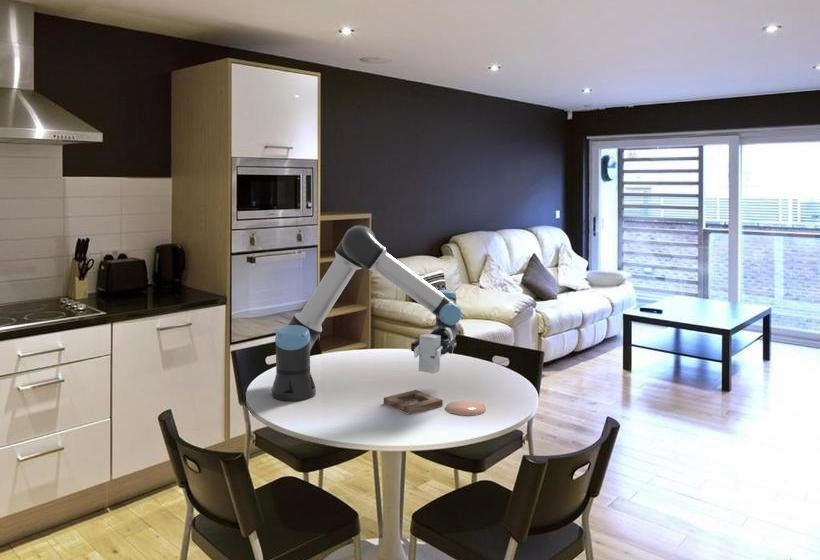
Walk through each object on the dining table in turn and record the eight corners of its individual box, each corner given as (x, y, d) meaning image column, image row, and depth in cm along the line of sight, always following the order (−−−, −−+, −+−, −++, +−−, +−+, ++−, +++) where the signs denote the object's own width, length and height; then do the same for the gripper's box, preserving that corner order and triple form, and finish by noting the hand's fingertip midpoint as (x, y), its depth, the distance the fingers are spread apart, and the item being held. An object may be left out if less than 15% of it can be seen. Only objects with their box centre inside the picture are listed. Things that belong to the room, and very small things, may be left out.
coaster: (437, 407, 217) (437, 405, 217) (466, 399, 225) (466, 398, 225) (465, 418, 207) (465, 416, 207) (494, 409, 215) (494, 408, 215)
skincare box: (418, 371, 217) (418, 335, 216) (424, 368, 221) (424, 332, 219) (434, 374, 214) (434, 337, 213) (440, 370, 218) (441, 334, 216)
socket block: (383, 403, 221) (383, 397, 221) (415, 395, 230) (415, 389, 229) (409, 414, 210) (409, 408, 210) (442, 405, 219) (442, 399, 219)
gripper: (467, 350, 232) (456, 367, 210) (413, 347, 237) (397, 363, 215) (468, 329, 231) (456, 344, 209) (413, 326, 236) (397, 341, 214)
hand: (426, 354), depth 212 cm, fingers closed on skincare box, 7 cm apart
